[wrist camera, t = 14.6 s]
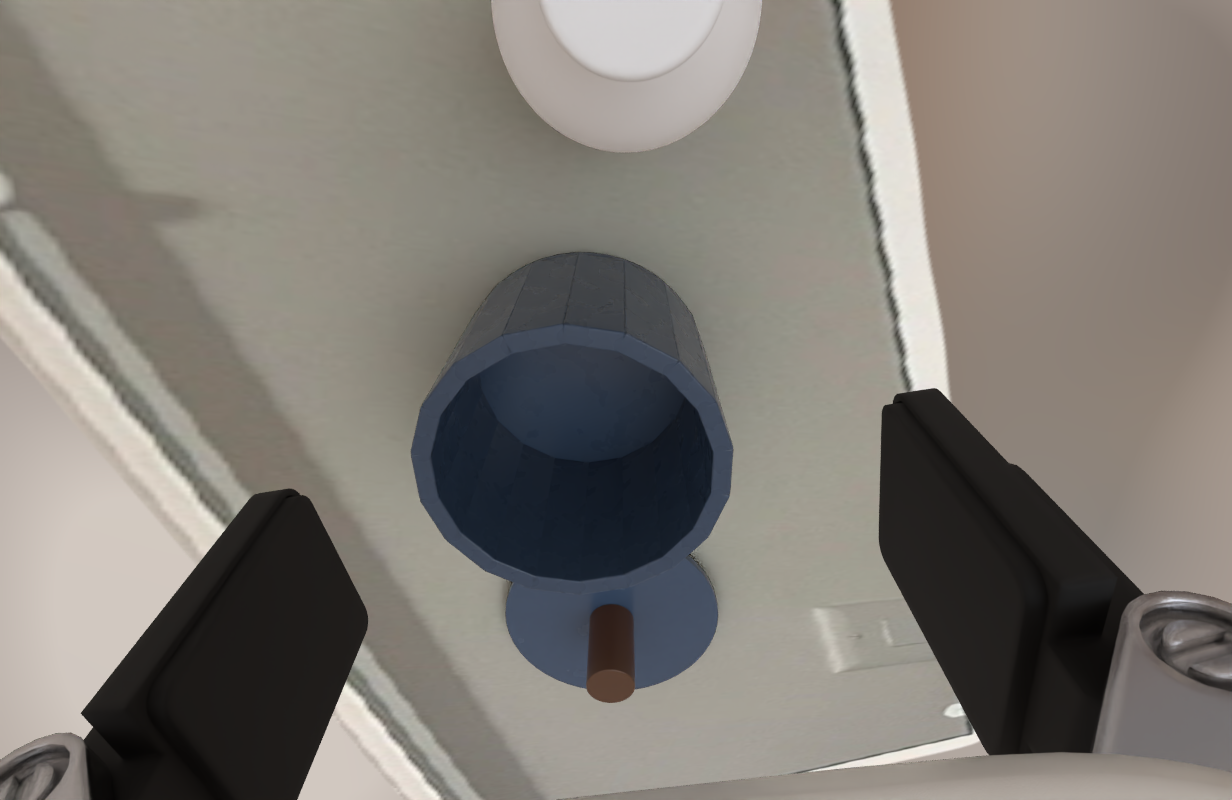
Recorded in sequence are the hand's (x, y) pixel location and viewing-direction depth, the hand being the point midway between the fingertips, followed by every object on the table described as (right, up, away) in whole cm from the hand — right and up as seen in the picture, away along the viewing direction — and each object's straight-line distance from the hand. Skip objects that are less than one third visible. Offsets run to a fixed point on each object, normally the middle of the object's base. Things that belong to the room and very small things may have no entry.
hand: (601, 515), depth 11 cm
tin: (-1, +4, +24) cm, 24 cm away
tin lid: (0, -12, +31) cm, 33 cm away
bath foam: (+1, +17, +17) cm, 24 cm away
